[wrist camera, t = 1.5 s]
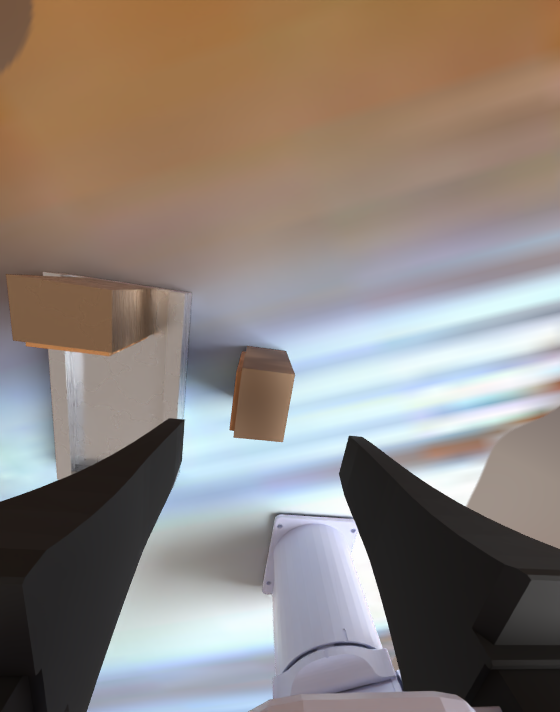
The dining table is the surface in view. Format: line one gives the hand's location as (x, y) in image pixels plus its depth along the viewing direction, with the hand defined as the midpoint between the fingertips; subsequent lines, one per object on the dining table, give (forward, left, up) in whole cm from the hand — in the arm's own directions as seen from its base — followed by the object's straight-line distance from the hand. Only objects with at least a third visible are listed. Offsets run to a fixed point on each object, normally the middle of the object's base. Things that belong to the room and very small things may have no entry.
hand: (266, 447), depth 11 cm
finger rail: (-2, +10, -10) cm, 14 cm away
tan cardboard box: (0, 0, -10) cm, 10 cm away
